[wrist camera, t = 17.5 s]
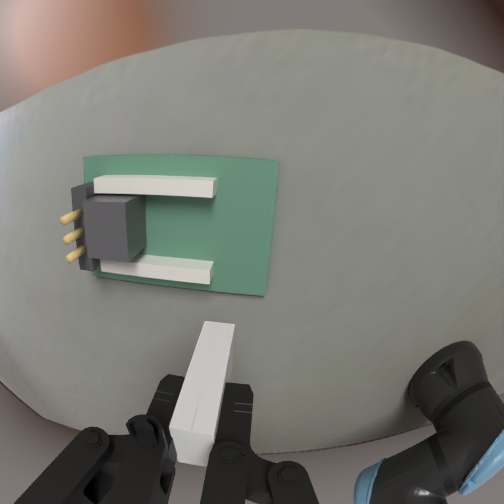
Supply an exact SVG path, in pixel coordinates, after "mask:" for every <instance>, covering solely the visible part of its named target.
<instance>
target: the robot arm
mask: <svg viewBox="0 0 504 504" xmlns="http://www.w3.org/2000/svg"><path fill="white" fill-rule="evenodd" d="M234 332H235V324H227V323H218V322H210V321H205V322H204V325H203V328H202V331H201V334H200V336H199V339H198V342H197V345H196V348H195V351H194V354H193V357H192V360H191V362H190V365H189V368H188V371H187V374H186V377H182V376H176V375H170V374H168V375H166V376H165V377H164V378H163V379H162V380H161V381H160V383H159V385H158V387H157V390H156V392H155V395H154V397H153V399H152V402H151V404H150V407H149V409H148V412H147V414H146V415H143V414H142V415H137V416H134V417H132V418H131V419H129V420H128V422H127V423H126V426H127V429H128V431H129V433H130V434H128V435H108V434H107V433H106V432H105V431H104V430H103V429H101V428H98V427H88V428H85V429H84V430H82V431H81V432H80V433H79V434H78V435H77V436H76V437H75V438H74V439H73V440H72V441H71V442H70V444H69V445H68V446H67V447H66V448H65V449H64V450H63V451H62V452H61V453H60V454H59V455H58V457H56V458H55V460H54V461H53V462H52V463H51V464H50V465H49V466H48V467H47V468H46V469H45V470H44V471H43V473H42V474H41V475H40V476H39V477H38V478H37V479H36V480H35V481H34V482H33V483H32V484H31V486H29V488H28V489H27V490H26V491H25V492H24V493H23V494H22V495H21V496H20V497H19V498H18V500H17V501H16V502H15V503H14V504H168V500H169V496H170V492H171V488H172V484H173V480H174V477H175V467H174V465H175V462H176V458H177V459H178V462H182V463H188V464H193V465H199V466H206V467H207V470H206V475H205V480H204V486H203V491H202V496H201V501H200V504H245V499H247V500H249V501H252V502H255V503H258V504H319V502H318V500H317V497H316V494H315V492H314V489H313V486H312V484H311V481H310V478H309V476H308V473H307V471H306V470H305V468H304V467H303V466H302V465H300V464H299V463H296V462H293V461H282V462H279V463H274V462H270V461H267V460H265V459H262V458H260V457H259V456H257V455H256V454H255V453H254V452H253V451H252V449H251V446H250V432H251V420H252V407H253V392H252V390H251V387H250V385H248V384H237V383H230V378H231V372H232V366H233V352H234ZM408 392H409V396H410V398H411V401H412V403H413V405H414V406H415V407H416V408H417V409H419V410H421V412H422V413H423V414H424V415H425V416H426V417H427V418H428V419H429V420H430V421H431V422H432V423H433V425H434V427H435V430H436V432H437V433H435V434H434V435H432V436H430V437H429V438H427V439H425V440H423V441H421V442H420V443H418V444H416V445H414V446H412V447H410V448H408V449H406V450H404V451H402V452H400V453H398V454H396V455H394V456H391V457H389V458H387V459H386V458H385V459H383V460H381V461H380V462H378V463H377V464H374V465H372V466H370V467H368V468H366V469H364V470H363V471H362V472H361V473H360V474H359V476H358V477H357V480H356V483H355V487H354V504H447V501H446V497H447V496H449V495H450V494H452V493H454V492H456V491H458V492H459V494H461V495H462V496H464V495H466V494H469V493H470V492H471V491H473V490H475V489H476V488H478V487H480V486H481V485H482V484H484V483H485V482H486V481H488V480H489V479H490V478H491V477H492V476H494V475H495V474H496V473H497V472H498V471H499V470H500V469H501V468H502V467H503V466H504V404H503V402H502V401H501V399H500V398H499V396H498V394H497V393H496V391H495V390H494V388H493V387H492V385H491V384H490V382H489V381H488V378H487V374H486V370H485V367H484V364H483V359H482V355H481V353H480V351H479V350H478V348H477V347H476V346H475V345H474V344H473V343H472V342H469V341H461V342H457V343H454V344H451V345H449V346H447V347H445V348H443V349H442V350H440V351H439V352H437V353H436V354H435V355H433V356H432V357H431V358H430V359H428V360H427V361H426V362H425V363H424V364H423V365H422V366H421V368H420V369H419V370H418V371H417V372H416V374H415V375H414V377H413V379H412V380H411V383H410V385H409V391H408Z"/></svg>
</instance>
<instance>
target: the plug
mask: <svg viewBox="0 0 504 504" xmlns="http://www.w3.org/2000/svg"><path fill="white" fill-rule="evenodd" d="M83 213H84V224H85V235H86V243H87V251H88V258H95V259H103V260H111V261H119V262H128V263H129V262H130V261H131V260H132V259H133V258H134V257H135V256H136V255H137V254H138V253H139V252H140V251H141V250H142V249H143V248H144V247H145V246H146V245H147V237H146V197H145V194H114V193H101V194H99V195H96V196H94V197H91V198H89V199H87V200H84V201H83Z"/></svg>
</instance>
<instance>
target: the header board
mask: <svg viewBox="0 0 504 504" xmlns="http://www.w3.org/2000/svg"><path fill="white" fill-rule="evenodd" d="M279 162H280V161H273V160H262V159H250V158H236V157H220V156H198V155H115V156H94V157H84V184H83V185H80V186H77V187H74V188H71V192H72V207H73V212H71V213H68V214H66V215H64V216H62V217H61V219H60V221H61V224H62V225H67V224H68V223H70V222H72V221H74V228H75V230H74V231H73V232H71V233H69V234H68V235H66V236H64V237H63V242H64V244H66V245H68V244H70V243H71V242H73V241H74V240H76V245H77V249H75V250H74V251H72V252H71V253H70V254H68V255H67V256H66V261H67V262H68V263H72V262H73V261H75V260H76V259H77V258H78V259H79V265H80V269H82V270H88V271H93V276H98V277H105V278H112V279H118V280H126V281H133V282H140V283H148V284H156V285H164V286H172V287H180V288H189V289H198V290H207V291H217V292H227V293H237V294H248V295H260V296H265V293H266V284H267V276H268V267H269V258H270V249H271V240H272V231H273V221H274V212H275V202H276V192H277V182H278V172H279ZM101 193H114V194H145V197H146V237H147V245H146V246H145V247H144V248H143V249H142V250H141V251H140V252H139V253H138V254H137V255H136V256H135V257H134V258H133V259H132V260H131V261H130V262H129V263H128V262H119V261H111V260H103V259H95V258H88V251H87V243H86V235H85V224H84V213H83V201H84V200H87V199H89V198H91V197H94V196H96V195H99V194H101Z"/></svg>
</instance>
